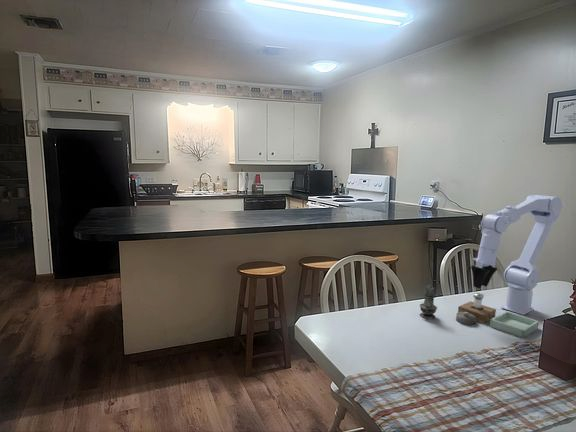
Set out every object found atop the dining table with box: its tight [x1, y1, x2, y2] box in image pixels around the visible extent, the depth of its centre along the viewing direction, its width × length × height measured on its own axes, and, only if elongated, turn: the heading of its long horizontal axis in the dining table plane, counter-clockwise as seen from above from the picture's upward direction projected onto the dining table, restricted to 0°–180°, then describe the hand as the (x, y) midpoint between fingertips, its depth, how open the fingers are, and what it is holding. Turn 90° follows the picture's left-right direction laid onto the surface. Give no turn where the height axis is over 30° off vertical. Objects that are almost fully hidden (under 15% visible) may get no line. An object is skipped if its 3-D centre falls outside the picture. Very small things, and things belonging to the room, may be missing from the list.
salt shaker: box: [419, 283, 438, 320], centre depth 131 cm, size 6×6×12 cm
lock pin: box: [472, 292, 485, 311], centre depth 133 cm, size 3×3×8 cm
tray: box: [489, 310, 540, 339], centre depth 124 cm, size 12×10×2 cm
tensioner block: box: [455, 300, 497, 326], centre depth 131 cm, size 15×9×3 cm, turn 128°
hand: (480, 286), depth 131 cm, fingers open, 7 cm apart
